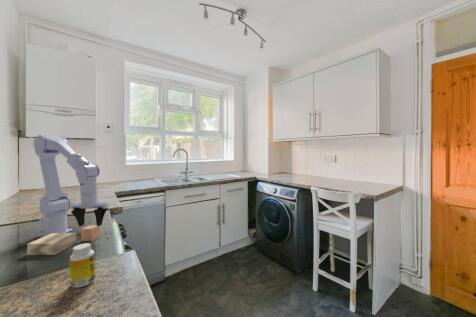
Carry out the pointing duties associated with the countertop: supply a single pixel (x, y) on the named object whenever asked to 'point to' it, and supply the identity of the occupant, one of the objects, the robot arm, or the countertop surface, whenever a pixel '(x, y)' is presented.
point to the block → (90, 233)
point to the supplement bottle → (82, 265)
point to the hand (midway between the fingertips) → (90, 225)
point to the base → (51, 244)
